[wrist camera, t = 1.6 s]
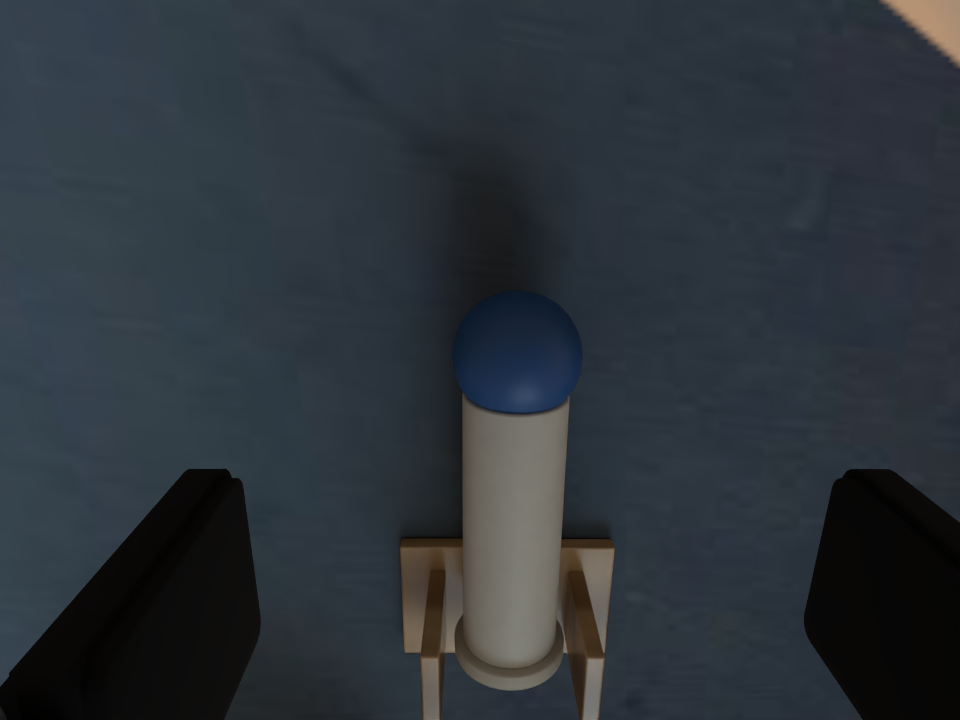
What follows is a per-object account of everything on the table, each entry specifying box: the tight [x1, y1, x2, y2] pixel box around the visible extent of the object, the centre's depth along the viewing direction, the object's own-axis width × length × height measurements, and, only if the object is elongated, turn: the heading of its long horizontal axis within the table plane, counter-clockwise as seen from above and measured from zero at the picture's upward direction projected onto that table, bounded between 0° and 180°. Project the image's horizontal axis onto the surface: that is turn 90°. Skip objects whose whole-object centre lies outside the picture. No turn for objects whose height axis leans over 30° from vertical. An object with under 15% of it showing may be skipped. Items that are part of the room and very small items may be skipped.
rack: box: [400, 538, 615, 720], centre depth 22 cm, size 5×8×5 cm, turn 90°
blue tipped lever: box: [452, 290, 582, 690], centre depth 20 cm, size 13×4×4 cm, turn 0°
